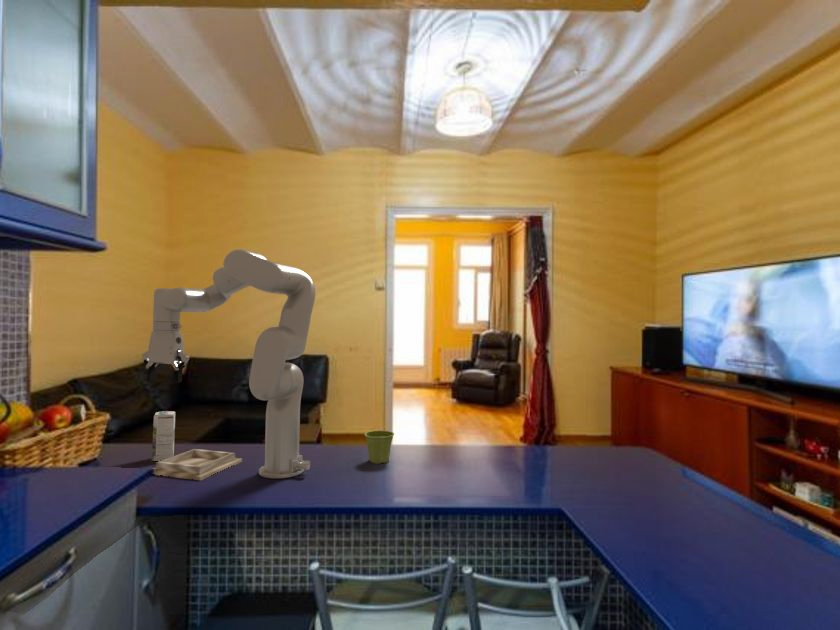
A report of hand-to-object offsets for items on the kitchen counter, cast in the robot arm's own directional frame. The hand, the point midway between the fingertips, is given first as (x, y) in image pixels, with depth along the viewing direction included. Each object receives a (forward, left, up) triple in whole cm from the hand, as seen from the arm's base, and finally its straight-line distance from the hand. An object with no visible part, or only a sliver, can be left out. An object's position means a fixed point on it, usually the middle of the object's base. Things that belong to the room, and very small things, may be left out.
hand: (164, 381), depth 146 cm
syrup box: (0, 0, -24) cm, 24 cm away
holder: (-16, +4, -24) cm, 29 cm away
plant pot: (-65, -19, -25) cm, 72 cm away
